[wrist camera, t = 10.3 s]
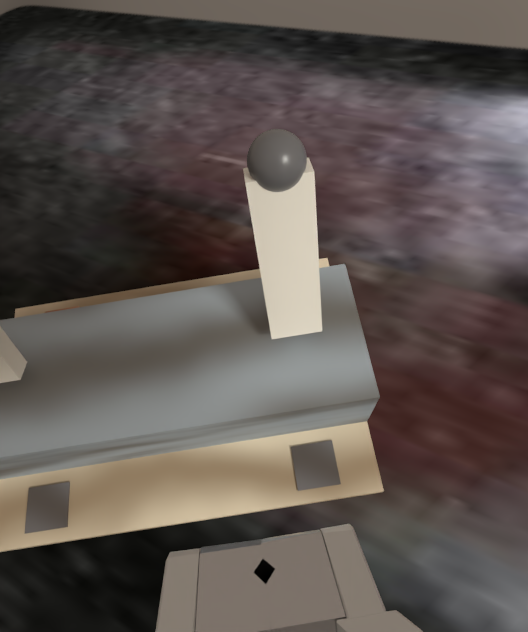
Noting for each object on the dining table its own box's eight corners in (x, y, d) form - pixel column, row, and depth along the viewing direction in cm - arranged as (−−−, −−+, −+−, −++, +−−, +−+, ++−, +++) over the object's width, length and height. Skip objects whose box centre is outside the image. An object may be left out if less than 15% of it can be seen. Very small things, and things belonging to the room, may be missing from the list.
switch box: (381, 492, 29) (401, 480, 23) (-6, 552, 30) (-89, 557, 24) (326, 264, 38) (330, 210, 31) (22, 314, 38) (-34, 270, 32)
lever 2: (324, 338, 26) (314, 137, 18) (272, 347, 26) (239, 150, 18) (316, 308, 28) (303, 114, 20) (268, 316, 28) (236, 125, 20)
